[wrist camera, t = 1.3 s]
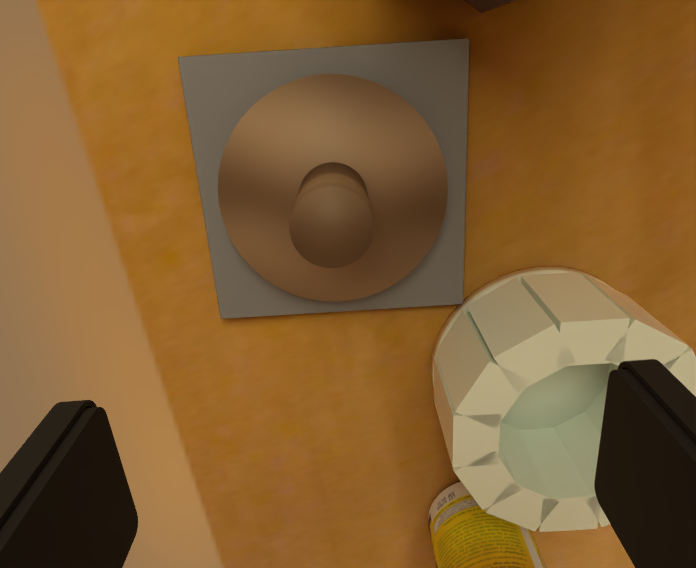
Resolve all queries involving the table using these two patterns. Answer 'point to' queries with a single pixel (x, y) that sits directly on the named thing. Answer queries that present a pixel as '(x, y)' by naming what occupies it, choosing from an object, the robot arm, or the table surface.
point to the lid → (332, 187)
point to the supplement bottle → (477, 535)
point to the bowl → (540, 389)
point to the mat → (361, 60)
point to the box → (487, 4)
